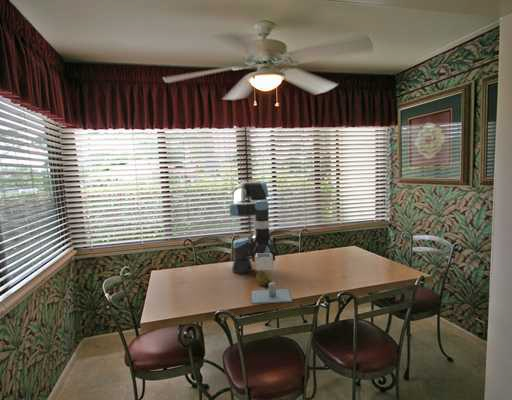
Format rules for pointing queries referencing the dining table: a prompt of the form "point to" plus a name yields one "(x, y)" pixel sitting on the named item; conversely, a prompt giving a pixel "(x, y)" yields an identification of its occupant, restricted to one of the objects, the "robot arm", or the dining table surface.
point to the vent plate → (271, 295)
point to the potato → (263, 278)
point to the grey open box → (263, 261)
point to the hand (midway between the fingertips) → (264, 266)
